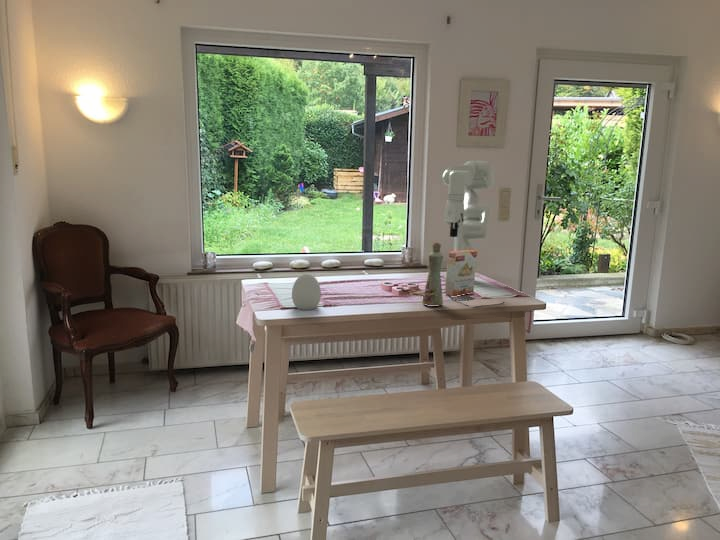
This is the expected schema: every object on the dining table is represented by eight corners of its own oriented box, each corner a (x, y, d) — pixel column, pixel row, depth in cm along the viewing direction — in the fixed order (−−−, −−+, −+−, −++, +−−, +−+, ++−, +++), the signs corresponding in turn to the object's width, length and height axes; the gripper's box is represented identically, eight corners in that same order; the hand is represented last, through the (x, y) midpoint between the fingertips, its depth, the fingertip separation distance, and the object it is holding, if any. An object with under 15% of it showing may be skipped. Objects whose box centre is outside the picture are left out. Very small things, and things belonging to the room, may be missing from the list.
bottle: (442, 308, 258) (446, 244, 252) (421, 306, 260) (424, 243, 254) (443, 303, 266) (447, 241, 260) (423, 301, 268) (426, 240, 262)
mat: (450, 298, 275) (450, 297, 274) (481, 295, 283) (481, 293, 283) (472, 307, 261) (472, 305, 261) (503, 303, 269) (504, 302, 269)
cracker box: (453, 297, 277) (456, 253, 272) (444, 295, 281) (447, 251, 277) (474, 294, 285) (477, 251, 280) (465, 291, 290) (468, 249, 285)
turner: (399, 290, 287) (399, 288, 286) (405, 289, 290) (405, 286, 290) (426, 297, 276) (426, 295, 276) (432, 295, 280) (432, 293, 280)
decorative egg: (321, 303, 259) (321, 270, 256) (320, 311, 248) (321, 276, 244) (292, 303, 259) (293, 269, 256) (290, 311, 247) (291, 275, 244)
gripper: (440, 196, 285) (437, 234, 289) (459, 199, 272) (456, 239, 276) (452, 196, 288) (450, 234, 292) (472, 199, 275) (469, 238, 279)
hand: (453, 236), depth 284 cm, fingers closed
